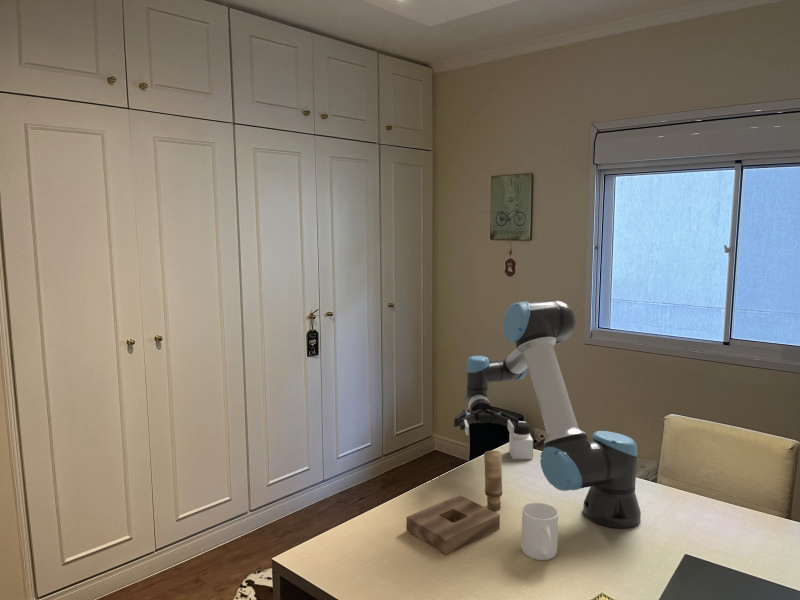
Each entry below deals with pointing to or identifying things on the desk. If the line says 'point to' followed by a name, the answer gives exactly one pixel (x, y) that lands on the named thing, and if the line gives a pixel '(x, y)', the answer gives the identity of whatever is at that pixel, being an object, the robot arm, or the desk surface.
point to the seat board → (452, 524)
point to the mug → (539, 531)
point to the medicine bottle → (521, 442)
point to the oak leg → (493, 479)
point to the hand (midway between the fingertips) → (490, 431)
